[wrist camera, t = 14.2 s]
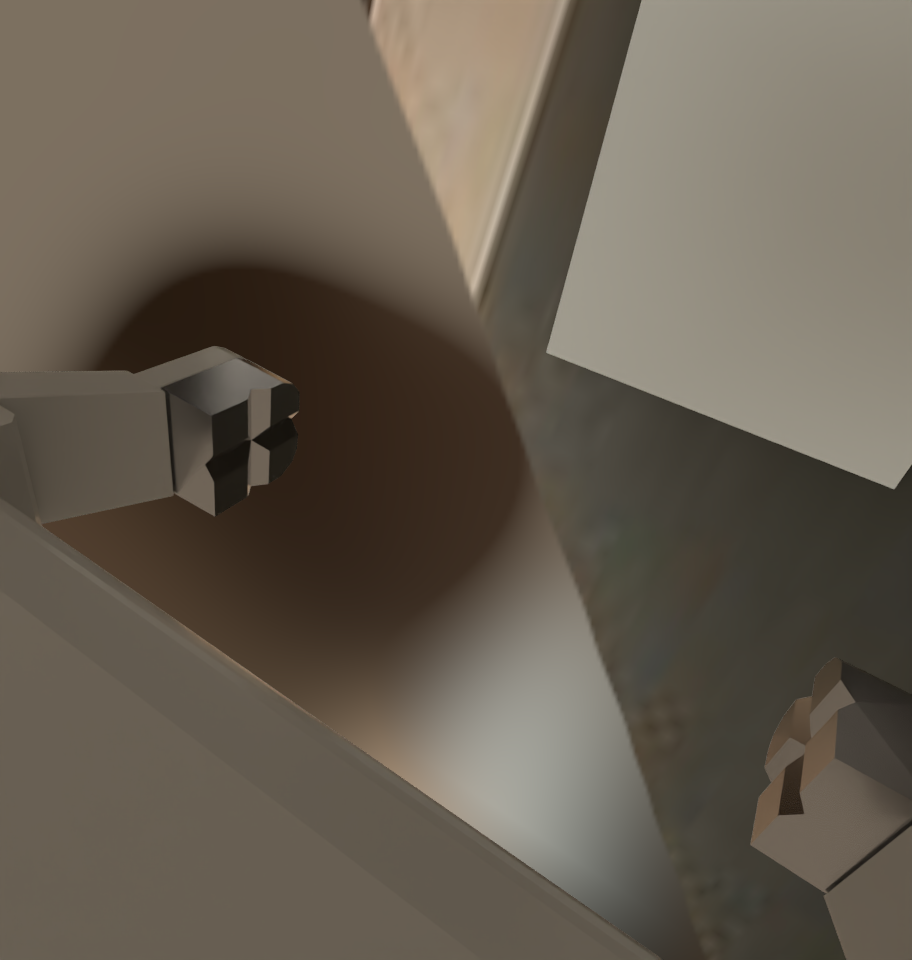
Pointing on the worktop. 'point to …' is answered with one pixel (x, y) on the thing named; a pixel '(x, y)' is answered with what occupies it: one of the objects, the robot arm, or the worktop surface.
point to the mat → (758, 225)
